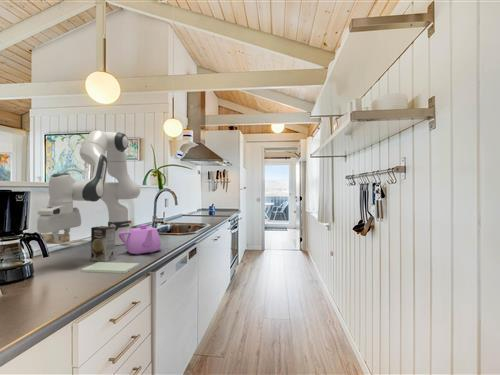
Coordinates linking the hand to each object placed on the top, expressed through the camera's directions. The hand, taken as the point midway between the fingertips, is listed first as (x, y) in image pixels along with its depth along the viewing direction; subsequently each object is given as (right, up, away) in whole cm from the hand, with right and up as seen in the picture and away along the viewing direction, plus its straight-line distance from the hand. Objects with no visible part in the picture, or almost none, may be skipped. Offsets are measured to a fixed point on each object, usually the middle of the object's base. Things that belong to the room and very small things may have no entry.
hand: (61, 239), depth 117 cm
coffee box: (+13, -12, +11) cm, 21 cm away
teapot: (+26, -12, +27) cm, 40 cm away
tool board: (+24, -12, -3) cm, 27 cm away
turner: (+1, -2, 0) cm, 2 cm away
